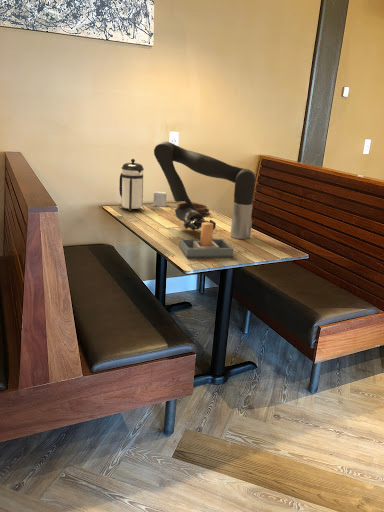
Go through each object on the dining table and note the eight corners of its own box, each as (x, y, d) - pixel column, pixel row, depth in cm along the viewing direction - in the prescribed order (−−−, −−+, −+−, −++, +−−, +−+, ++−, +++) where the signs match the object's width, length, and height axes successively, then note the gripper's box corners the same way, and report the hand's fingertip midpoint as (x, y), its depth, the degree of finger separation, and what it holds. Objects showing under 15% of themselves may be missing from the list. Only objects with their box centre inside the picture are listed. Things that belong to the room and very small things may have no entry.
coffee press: (146, 207, 260) (148, 158, 250) (141, 213, 245) (142, 160, 235) (119, 205, 261) (120, 156, 251) (112, 210, 246) (112, 158, 236)
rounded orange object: (209, 248, 185) (211, 222, 181) (212, 252, 180) (214, 225, 176) (198, 248, 184) (200, 222, 180) (201, 252, 179) (203, 225, 175)
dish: (169, 210, 256) (169, 202, 254) (201, 209, 265) (202, 202, 264) (180, 217, 241) (181, 209, 239) (214, 216, 250) (215, 208, 249)
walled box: (221, 247, 191) (222, 239, 190) (232, 257, 178) (233, 248, 177) (179, 248, 186) (179, 239, 185) (186, 258, 173) (187, 249, 172)
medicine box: (165, 205, 269) (166, 192, 267) (165, 207, 265) (166, 193, 262) (153, 204, 269) (154, 191, 266) (153, 206, 265) (153, 192, 262)
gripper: (180, 211, 196) (188, 220, 181) (209, 211, 200) (219, 220, 185) (179, 227, 198) (187, 236, 184) (207, 226, 202) (218, 236, 187)
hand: (203, 228), depth 184 cm, fingers open, 8 cm apart
